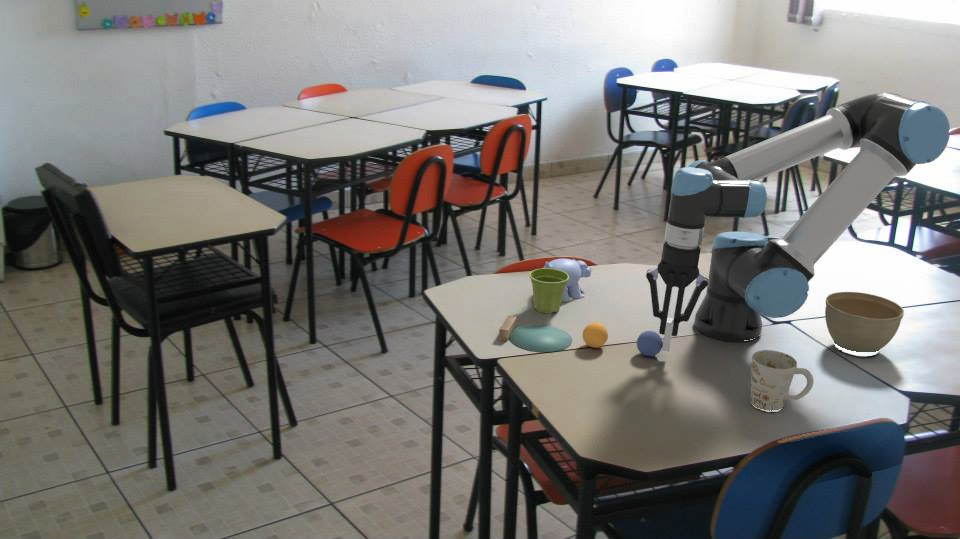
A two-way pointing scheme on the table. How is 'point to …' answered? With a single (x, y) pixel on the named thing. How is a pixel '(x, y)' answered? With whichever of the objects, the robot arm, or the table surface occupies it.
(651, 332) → the blue ball
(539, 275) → the plant pot
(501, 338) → the rail
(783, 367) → the mug
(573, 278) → the hippopotamus toy
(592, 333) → the orange ball
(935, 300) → the table surface
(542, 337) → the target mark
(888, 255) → the table surface
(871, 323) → the planter bowl
